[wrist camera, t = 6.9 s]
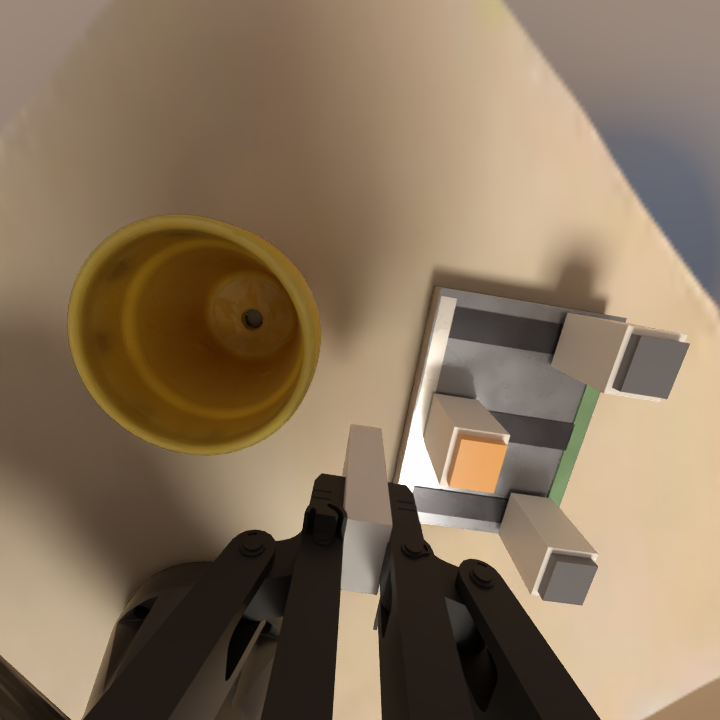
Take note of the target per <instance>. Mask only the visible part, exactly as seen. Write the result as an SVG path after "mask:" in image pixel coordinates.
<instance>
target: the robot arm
mask: <svg viewBox="0 0 720 720" xmlns="http://www.w3.org/2000/svg"><path fill="white" fill-rule="evenodd" d="M379 584H380V600H379V605H378V609H377V613H376V618H375V622H374V628H373V630H377V627H378V635H379V659H380V683H381V708H382V720H601V719H600V718H599V717H598V715H597V714H596V712H595V711H594V709H593V708H592V706H591V705H590V704H589V702H588V701H587V699H586V698H585V696H584V695H583V693H582V692H581V691H580V689H579V688H578V686H577V685H576V683H575V682H574V681H573V679H572V678H571V676H570V675H569V673H568V672H567V670H566V669H565V668H564V666H563V665H562V663H561V662H560V660H559V659H558V658H557V656H556V655H555V653H554V652H553V650H552V649H551V647H550V646H549V645H548V643H547V642H546V640H545V639H544V637H543V636H542V634H541V633H540V632H539V630H538V629H537V627H536V626H535V624H534V623H533V622H532V620H531V619H530V617H529V616H528V614H527V613H526V611H525V610H524V609H523V607H522V606H521V604H520V603H519V601H518V600H517V599H516V597H515V596H514V594H513V593H512V591H511V590H510V588H509V587H508V586H507V584H506V583H505V581H504V580H503V578H502V577H501V576H500V574H499V573H498V572H497V571H496V570H495V569H494V568H493V567H491V566H490V565H488V564H487V563H485V562H482V561H480V560H476V559H468V560H464V561H463V562H462V563H461V564H460V566H459V567H457V566H455V565H452V564H450V563H447V562H445V561H443V560H441V559H439V558H438V557H436V556H435V555H434V553H433V550H432V548H431V546H430V545H429V544H428V543H427V542H426V541H425V540H424V538H423V534H422V529H421V525H420V520H419V516H418V512H417V507H416V505H415V498H414V494H413V493H412V491H411V490H410V489H409V487H408V486H407V485H403V484H396V483H389V482H387V474H386V465H385V456H384V448H383V439H382V431H381V429H380V428H374V427H367V426H360V425H354V424H351V427H350V433H349V439H348V445H347V450H346V456H345V462H344V468H343V475H342V476H335V475H329V474H321V475H320V476H319V477H318V478H317V479H316V480H315V482H314V486H313V491H312V495H311V500H310V504H309V506H308V507H307V509H306V511H305V515H304V522H303V529H302V531H301V532H300V533H299V534H298V535H296V536H295V537H292V538H290V539H286V540H281V541H275V540H274V538H273V537H272V536H271V535H270V534H268V533H267V532H265V531H261V530H249V531H245V532H243V533H240V534H238V535H237V536H236V537H235V538H234V539H232V541H231V542H230V543H229V544H228V545H227V547H226V548H225V549H224V550H223V551H222V553H221V554H220V555H219V556H218V558H217V559H216V560H215V561H214V562H213V563H189V564H183V565H178V566H175V567H171V568H169V569H166V570H164V571H161V572H159V573H158V574H156V575H154V576H153V577H151V578H150V579H148V580H147V581H146V582H145V583H144V584H142V585H141V587H140V588H139V589H138V590H137V591H136V593H135V594H134V595H133V597H132V598H131V600H130V601H129V603H128V604H127V606H126V607H125V609H124V610H123V612H122V613H121V614H120V616H119V618H118V620H117V622H116V624H115V626H114V628H113V630H112V633H111V636H110V639H109V642H108V645H107V648H106V651H105V654H104V657H103V660H102V663H101V666H100V669H99V672H98V675H97V678H96V680H95V683H94V686H93V689H92V692H91V695H90V698H89V701H88V704H87V707H86V710H85V713H84V715H83V717H82V719H81V720H332V715H333V699H334V684H335V668H336V653H337V637H338V621H339V606H340V590H345V591H353V592H360V593H368V594H375V595H377V593H378V588H379ZM0 720H71V719H70V718H69V717H67V716H66V715H65V714H64V713H63V712H62V711H61V710H60V709H59V708H58V707H57V706H55V705H54V704H53V703H52V702H51V701H50V700H49V699H48V698H47V697H46V696H45V695H43V694H42V693H41V692H40V691H39V690H38V689H37V688H36V687H35V686H34V685H32V684H31V683H30V682H29V681H28V680H27V679H26V678H25V677H24V676H23V675H22V674H20V673H19V672H18V671H17V670H16V669H15V668H14V667H13V666H12V665H11V664H10V663H8V662H7V661H6V660H5V659H4V658H3V657H2V656H1V655H0Z"/></svg>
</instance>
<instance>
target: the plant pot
mask: <svg viewBox="0 0 720 720" xmlns="http://www.w3.org/2000/svg"><path fill="white" fill-rule="evenodd" d="M249 310H257V311H258V312H259V313H260V314H261V315H262V321H263V322H262V324H261V326H259V327H258V328H252V327H250V326H249V325H247V323H246V321H245V315H246V313H247V312H248V311H249ZM67 330H68V340H69V346H70V350H71V354H72V358H73V360H74V363H75V366H76V368H77V371H78V373H79V375H80V377H81V379H82V381H83V383H84V385H85V387H86V388H87V390H88V391H89V393H90V394H91V396H92V397H93V399H94V400H95V401H96V402H97V404H98V405H99V406H100V407H101V408H102V409H103V411H104V412H105V413H106V414H107V415H109V416H110V417H111V418H112V419H113V420H114V421H115V422H117V423H118V424H119V425H121V426H122V427H123V428H124V429H126V430H128V431H129V432H131V433H132V434H134V435H136V436H137V437H139V438H140V439H142V440H144V441H147V442H149V443H151V444H153V445H156V446H158V447H161V448H164V449H167V450H170V451H175V452H179V453H185V454H192V455H219V454H226V453H231V452H235V451H238V450H241V449H244V448H247V447H250V446H252V445H254V444H256V443H258V442H260V441H262V440H264V439H266V438H267V437H269V436H270V435H272V434H273V433H274V432H276V431H277V430H278V429H279V428H281V427H282V426H283V425H284V424H285V423H286V422H287V421H288V420H289V419H290V417H291V416H292V415H293V414H294V412H295V411H296V410H297V408H298V407H299V405H300V404H301V402H302V400H303V398H304V397H305V395H306V393H307V390H308V388H309V386H310V383H311V381H312V378H313V376H314V373H315V369H316V366H317V362H318V357H319V352H320V343H321V326H320V318H319V313H318V309H317V306H316V302H315V299H314V297H313V294H312V292H311V290H310V288H309V286H308V284H307V282H306V280H305V279H304V277H303V276H302V274H301V273H300V272H299V270H298V269H297V268H296V267H295V265H294V264H293V263H292V262H291V261H290V260H289V259H288V258H287V257H286V256H285V255H284V254H283V253H282V252H281V251H279V250H278V249H277V248H276V247H274V246H273V245H272V244H270V243H268V242H267V241H265V240H264V239H262V238H260V237H258V236H257V235H255V234H253V233H251V232H249V231H246V230H244V229H242V228H239V227H237V226H234V225H231V224H228V223H225V222H222V221H218V220H215V219H211V218H207V217H202V216H195V215H162V216H156V217H151V218H147V219H144V220H140V221H137V222H135V223H132V224H130V225H128V226H126V227H123V228H122V229H120V230H118V231H117V232H115V233H114V234H112V235H111V236H109V237H108V238H106V239H105V240H104V241H103V242H102V243H101V244H100V245H99V246H98V247H97V248H96V249H95V250H94V251H93V252H92V253H91V255H90V256H89V257H88V258H87V260H86V261H85V263H84V264H83V266H82V268H81V270H80V272H79V273H78V276H77V278H76V280H75V283H74V285H73V289H72V292H71V296H70V300H69V305H68V313H67Z"/></svg>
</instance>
